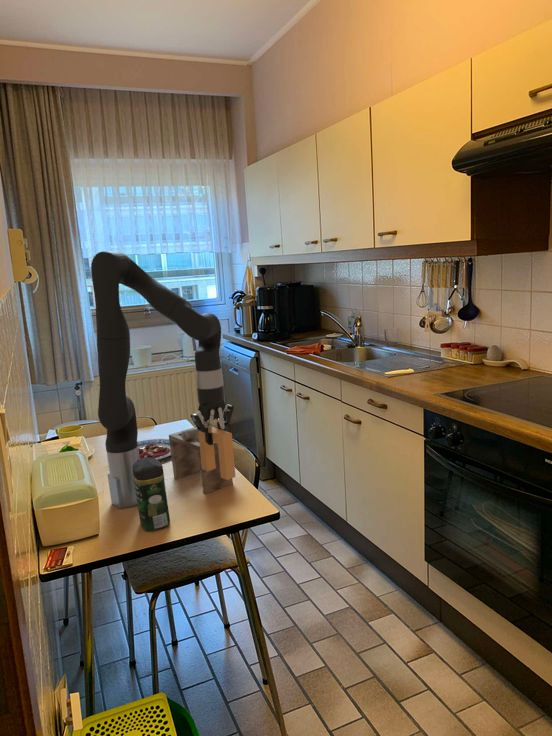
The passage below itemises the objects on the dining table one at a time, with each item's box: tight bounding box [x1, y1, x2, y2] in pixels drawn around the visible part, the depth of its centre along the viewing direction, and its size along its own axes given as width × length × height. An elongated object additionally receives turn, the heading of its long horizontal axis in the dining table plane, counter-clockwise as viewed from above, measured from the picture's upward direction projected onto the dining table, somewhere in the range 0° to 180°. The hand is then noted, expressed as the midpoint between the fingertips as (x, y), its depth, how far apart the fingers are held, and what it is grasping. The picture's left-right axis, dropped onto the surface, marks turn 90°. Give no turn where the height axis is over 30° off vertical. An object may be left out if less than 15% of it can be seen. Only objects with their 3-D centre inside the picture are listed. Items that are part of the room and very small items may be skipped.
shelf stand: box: [168, 427, 234, 494], centre depth 183 cm, size 10×20×18 cm, turn 40°
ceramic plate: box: [137, 438, 171, 461], centre depth 214 cm, size 26×26×3 cm
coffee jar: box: [133, 457, 171, 531], centre depth 155 cm, size 10×8×19 cm
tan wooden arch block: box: [198, 426, 237, 480], centre depth 163 cm, size 3×13×13 cm, turn 40°
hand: (215, 442), depth 162 cm, fingers closed on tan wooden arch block, 3 cm apart
